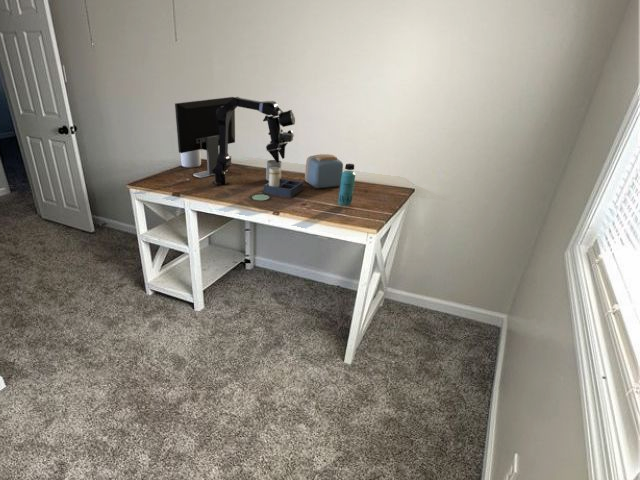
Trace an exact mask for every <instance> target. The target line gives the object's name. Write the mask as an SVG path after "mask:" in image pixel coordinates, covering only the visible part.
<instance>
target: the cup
mask: <svg viewBox="0 0 640 480" xmlns="http://www.w3.org/2000/svg"><path fill="white" fill-rule="evenodd" d="M282 165H283V162H282V161H281V160H279V163H277V162H276V161H275V159H269V160H267V161H266V167H265V169H266V170H265V172H266V174H265V180H266V181H269V168H272V167H277V168H280V178H281V179H282Z"/></svg>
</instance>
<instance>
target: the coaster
mask: <svg viewBox="0 0 640 480" xmlns="http://www.w3.org/2000/svg"><path fill="white" fill-rule="evenodd" d="M251 199H253V200H255V201H266V200H269V199H270V196H269V195H268V194H255V195H252V196H251Z"/></svg>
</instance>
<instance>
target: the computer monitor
mask: <svg viewBox="0 0 640 480" xmlns="http://www.w3.org/2000/svg"><path fill="white" fill-rule="evenodd" d="M234 97H235V96H228V97H219V98H210V99H203V100H192V101H183V102H176V103H174V110H175V122H176V124H175V125H176V133H177V147H178V153H179V154H181V153H185V152H190V151H195V150H200V151H202V150H203V151H206V167H207V169H206V170H205V171H200V172H195V173H193V174H192V176H194V177H196V178H201V179H202V178H206V177H210V176H215V174H213V172H212V170H213V169H214V167H215V166H216V162H217V158H218V155H219V123H218V120H217V114H216V112H217V109H218V108H220V107H222V106H224V105H225V104H227V103H228V102H229V101H231V100H232V98H234ZM235 143H236V109H235V110H233V111H232V114H231V119H230V122H229V125H228V145H230V144H235ZM228 171H229V170H228V169H227V171H225V173H226V172H228Z"/></svg>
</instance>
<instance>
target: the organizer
mask: <svg viewBox="0 0 640 480" xmlns="http://www.w3.org/2000/svg"><path fill="white" fill-rule="evenodd" d="M303 189H304V182H303V181H300V180H294V179H293V180H292V179H286V178H282V177H281V178H280V186H278V187H274V186H269V182H267V183H265V184H263V194H266V195H274V196H280V197H285V198H290V199H291V198H292V197H294V196H295V195H297V194H298V193H299V192H301V191H303Z"/></svg>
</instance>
